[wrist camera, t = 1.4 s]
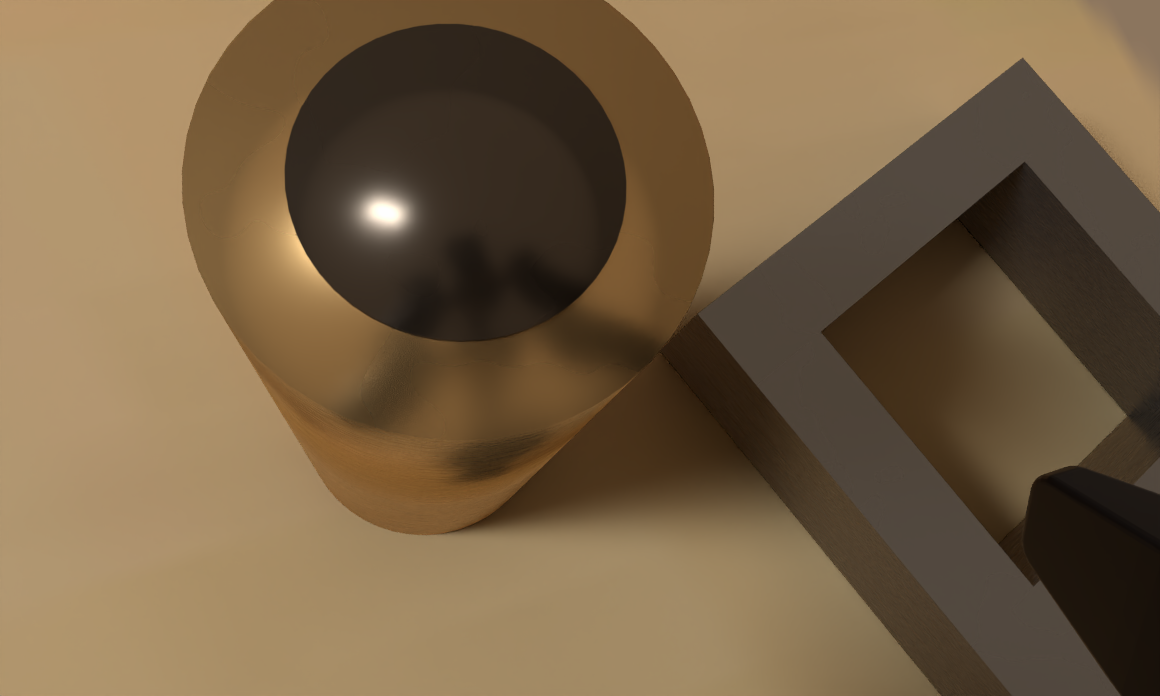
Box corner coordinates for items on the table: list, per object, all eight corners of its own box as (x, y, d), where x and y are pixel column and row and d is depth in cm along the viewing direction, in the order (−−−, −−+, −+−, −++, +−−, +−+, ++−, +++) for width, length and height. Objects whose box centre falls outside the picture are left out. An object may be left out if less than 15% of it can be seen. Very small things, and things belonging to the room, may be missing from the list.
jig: (1335, 558, 24) (1460, 552, 22) (1076, 861, 22) (1180, 900, 19) (952, 118, 26) (1022, 57, 23) (659, 350, 23) (697, 314, 20)
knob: (589, 436, 22) (816, 232, 10) (402, 585, 21) (406, 557, 9) (447, 259, 22) (503, -138, 10) (255, 393, 21) (65, 111, 9)
